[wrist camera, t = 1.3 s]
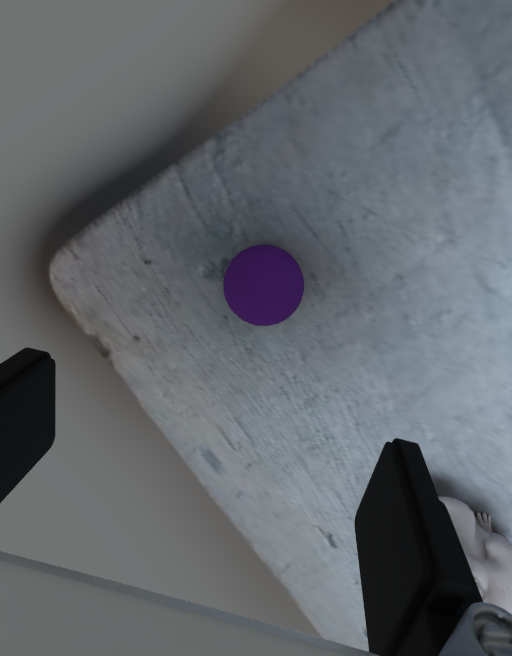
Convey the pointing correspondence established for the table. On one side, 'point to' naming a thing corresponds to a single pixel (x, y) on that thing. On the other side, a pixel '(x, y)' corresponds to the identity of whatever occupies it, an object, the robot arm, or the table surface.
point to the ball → (263, 285)
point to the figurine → (484, 553)
